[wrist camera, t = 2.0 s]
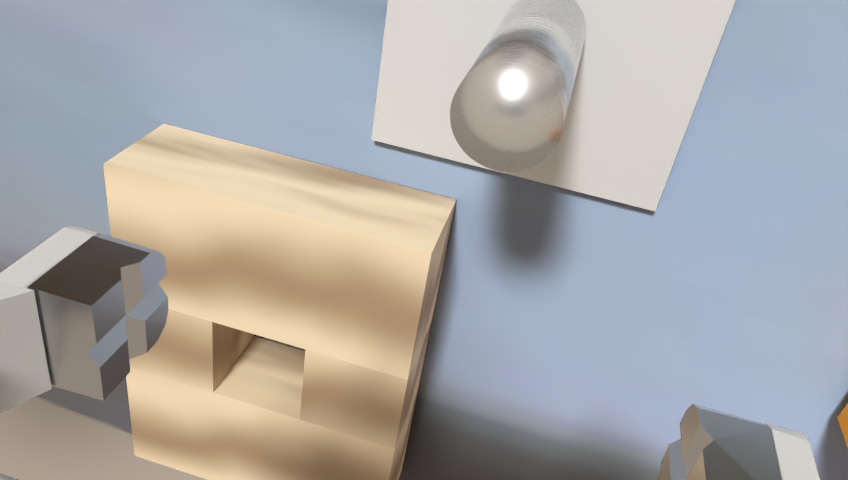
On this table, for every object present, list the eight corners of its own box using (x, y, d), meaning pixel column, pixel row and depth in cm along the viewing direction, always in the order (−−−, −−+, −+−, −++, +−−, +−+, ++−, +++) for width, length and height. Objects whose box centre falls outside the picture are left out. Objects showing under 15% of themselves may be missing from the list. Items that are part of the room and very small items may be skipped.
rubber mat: (413, -188, 24) (410, -187, 24) (778, -119, 22) (780, -118, 22) (374, 136, 31) (371, 139, 30) (654, 206, 29) (654, 211, 29)
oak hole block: (163, 123, 33) (103, 163, 29) (456, 199, 31) (431, 252, 27) (178, 399, 43) (134, 455, 39) (401, 469, 41) (378, 535, 37)
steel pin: (513, -20, 26) (460, 50, 18) (596, -2, 25) (577, 78, 18) (496, 61, 27) (441, 156, 20) (573, 79, 27) (547, 183, 19)
